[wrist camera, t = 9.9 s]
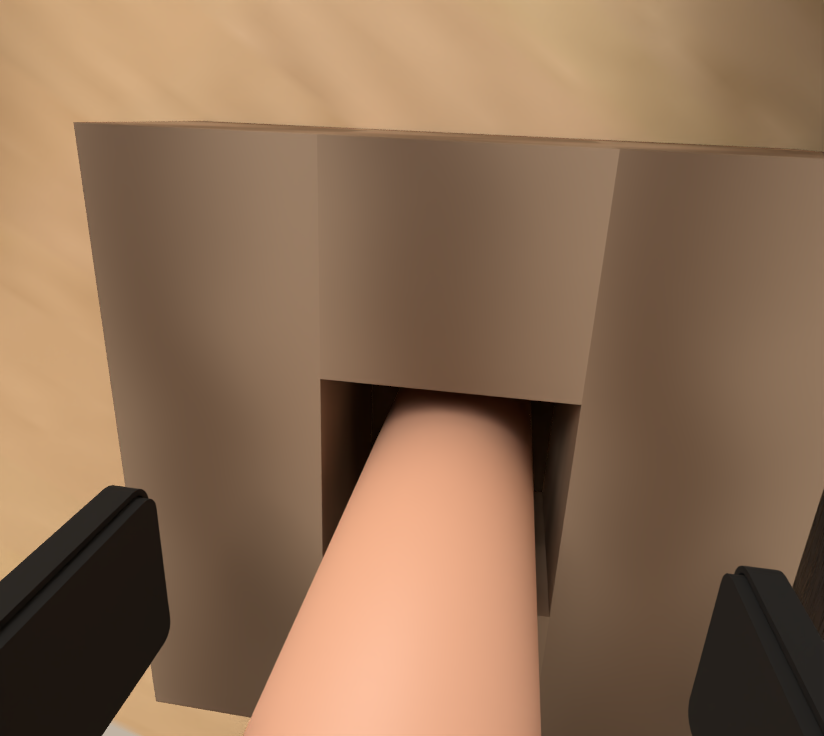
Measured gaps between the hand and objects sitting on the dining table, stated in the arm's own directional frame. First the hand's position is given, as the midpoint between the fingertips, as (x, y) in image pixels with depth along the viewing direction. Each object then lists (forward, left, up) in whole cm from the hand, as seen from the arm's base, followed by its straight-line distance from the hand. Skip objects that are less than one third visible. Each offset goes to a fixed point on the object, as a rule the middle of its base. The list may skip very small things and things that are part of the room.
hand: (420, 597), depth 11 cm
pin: (0, 0, -8) cm, 8 cm away
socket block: (0, 0, -8) cm, 8 cm away
